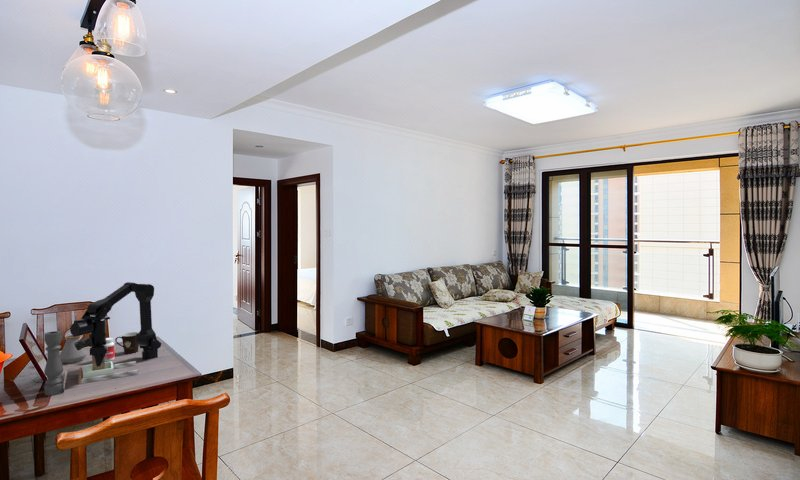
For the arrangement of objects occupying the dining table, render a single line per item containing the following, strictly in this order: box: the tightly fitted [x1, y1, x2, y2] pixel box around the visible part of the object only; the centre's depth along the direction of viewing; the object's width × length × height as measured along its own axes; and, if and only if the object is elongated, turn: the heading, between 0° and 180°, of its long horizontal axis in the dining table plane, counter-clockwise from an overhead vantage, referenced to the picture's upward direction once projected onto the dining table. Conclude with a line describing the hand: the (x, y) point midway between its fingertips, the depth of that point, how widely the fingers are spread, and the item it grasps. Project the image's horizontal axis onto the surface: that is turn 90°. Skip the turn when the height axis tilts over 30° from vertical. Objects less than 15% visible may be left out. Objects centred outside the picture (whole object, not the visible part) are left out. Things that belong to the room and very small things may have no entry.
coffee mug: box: [114, 331, 140, 355], centre depth 231 cm, size 12×9×10 cm
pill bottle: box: [105, 337, 116, 362], centre depth 217 cm, size 6×6×11 cm
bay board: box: [78, 360, 140, 385], centre depth 194 cm, size 22×16×4 cm
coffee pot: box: [59, 334, 88, 364], centre depth 220 cm, size 21×12×15 cm, turn 8°
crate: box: [82, 360, 115, 379], centre depth 191 cm, size 11×12×4 cm
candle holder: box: [43, 330, 65, 397], centre depth 174 cm, size 6×6×25 cm
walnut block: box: [91, 355, 105, 371], centre depth 191 cm, size 4×4×6 cm
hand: (98, 365), depth 191 cm, fingers closed on walnut block, 4 cm apart
